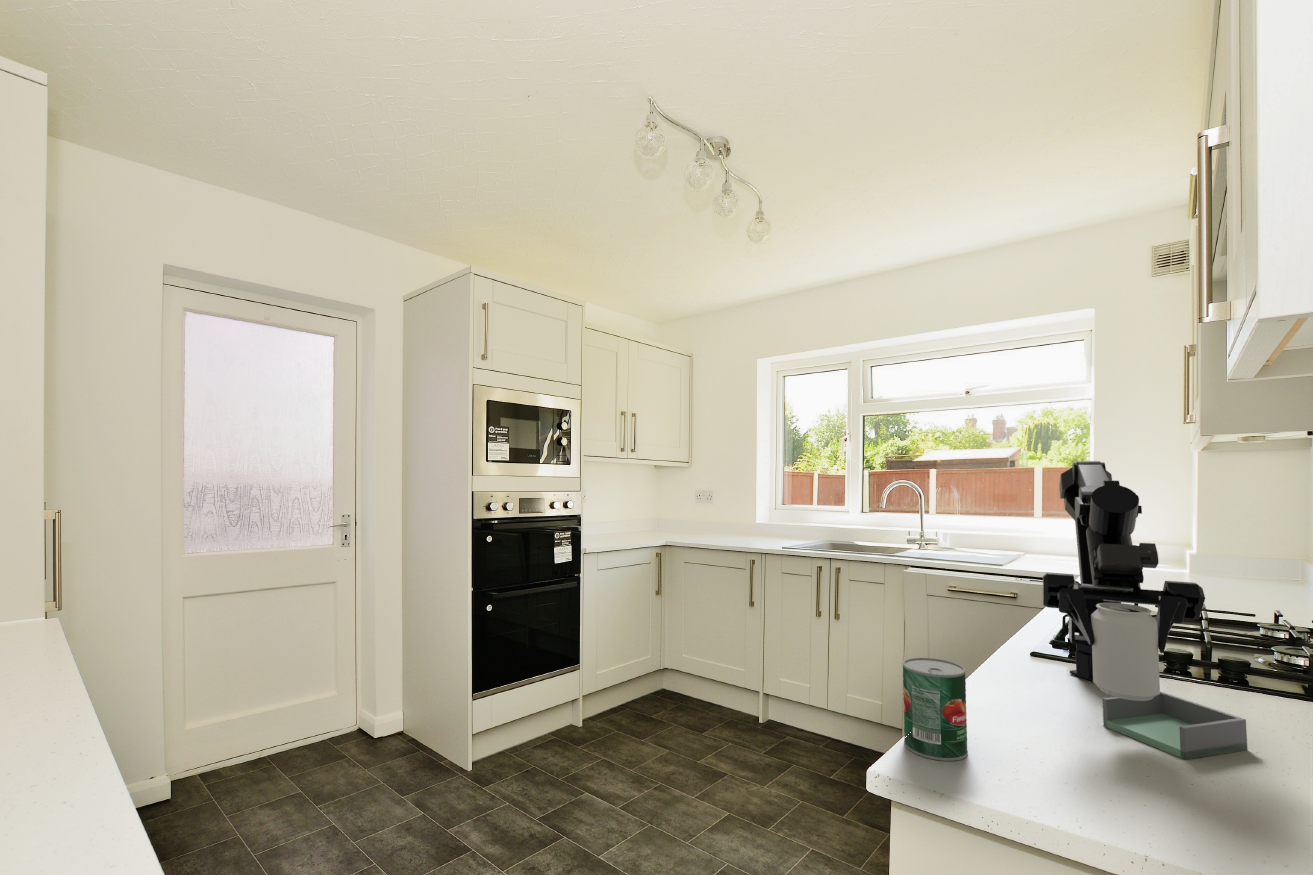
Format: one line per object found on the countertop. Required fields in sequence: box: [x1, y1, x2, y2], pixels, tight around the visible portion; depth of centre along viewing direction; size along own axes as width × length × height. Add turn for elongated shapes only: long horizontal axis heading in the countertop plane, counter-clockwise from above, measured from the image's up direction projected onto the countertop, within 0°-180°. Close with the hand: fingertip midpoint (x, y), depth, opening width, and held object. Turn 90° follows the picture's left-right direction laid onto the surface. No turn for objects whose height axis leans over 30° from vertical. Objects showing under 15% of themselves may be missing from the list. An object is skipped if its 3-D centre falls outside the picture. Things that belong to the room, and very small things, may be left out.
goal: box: [1101, 691, 1248, 761], centre depth 88 cm, size 11×11×4 cm
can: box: [1091, 602, 1161, 701], centre depth 87 cm, size 8×8×12 cm
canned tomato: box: [901, 657, 969, 762], centre depth 85 cm, size 8×8×11 cm
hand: (1126, 647), depth 86 cm, fingers closed on can, 7 cm apart
